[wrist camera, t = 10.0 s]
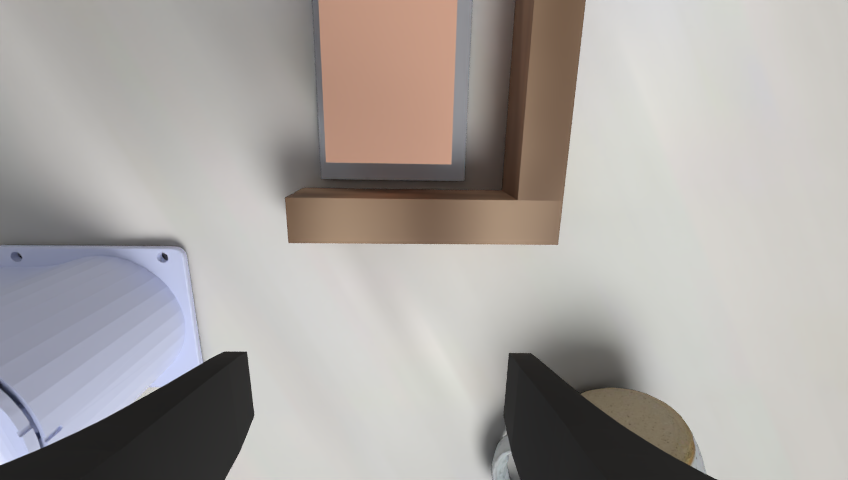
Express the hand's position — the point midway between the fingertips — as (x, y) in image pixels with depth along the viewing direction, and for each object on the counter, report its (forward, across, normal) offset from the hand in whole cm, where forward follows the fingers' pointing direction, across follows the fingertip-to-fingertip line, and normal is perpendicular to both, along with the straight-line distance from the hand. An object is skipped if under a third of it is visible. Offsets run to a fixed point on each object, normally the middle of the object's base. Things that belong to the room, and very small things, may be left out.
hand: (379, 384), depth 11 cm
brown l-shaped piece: (+10, -1, -10) cm, 14 cm away
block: (+10, 0, -10) cm, 14 cm away
